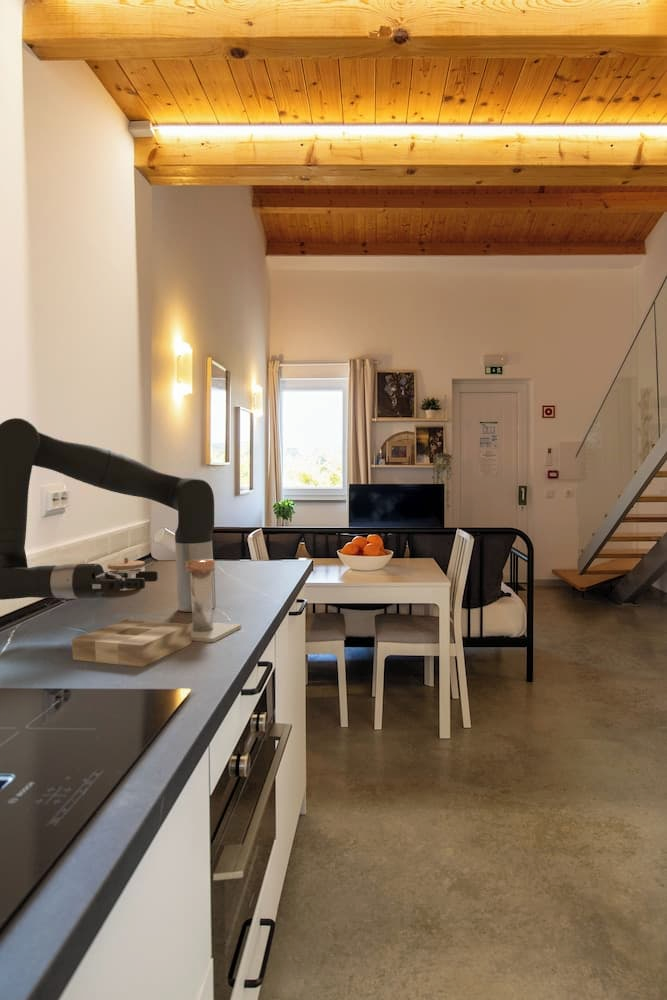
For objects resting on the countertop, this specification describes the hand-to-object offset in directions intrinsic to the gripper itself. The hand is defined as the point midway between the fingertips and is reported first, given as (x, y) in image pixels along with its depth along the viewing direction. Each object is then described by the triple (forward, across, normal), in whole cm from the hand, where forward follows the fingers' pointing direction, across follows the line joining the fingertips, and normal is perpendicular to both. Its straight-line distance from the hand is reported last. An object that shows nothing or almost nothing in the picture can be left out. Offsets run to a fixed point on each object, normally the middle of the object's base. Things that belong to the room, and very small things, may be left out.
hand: (151, 579), depth 143 cm
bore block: (0, -13, +12) cm, 18 cm away
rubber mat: (+11, 0, +12) cm, 16 cm away
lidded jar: (-25, +54, +12) cm, 61 cm away
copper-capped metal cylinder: (+11, 0, +11) cm, 16 cm away
